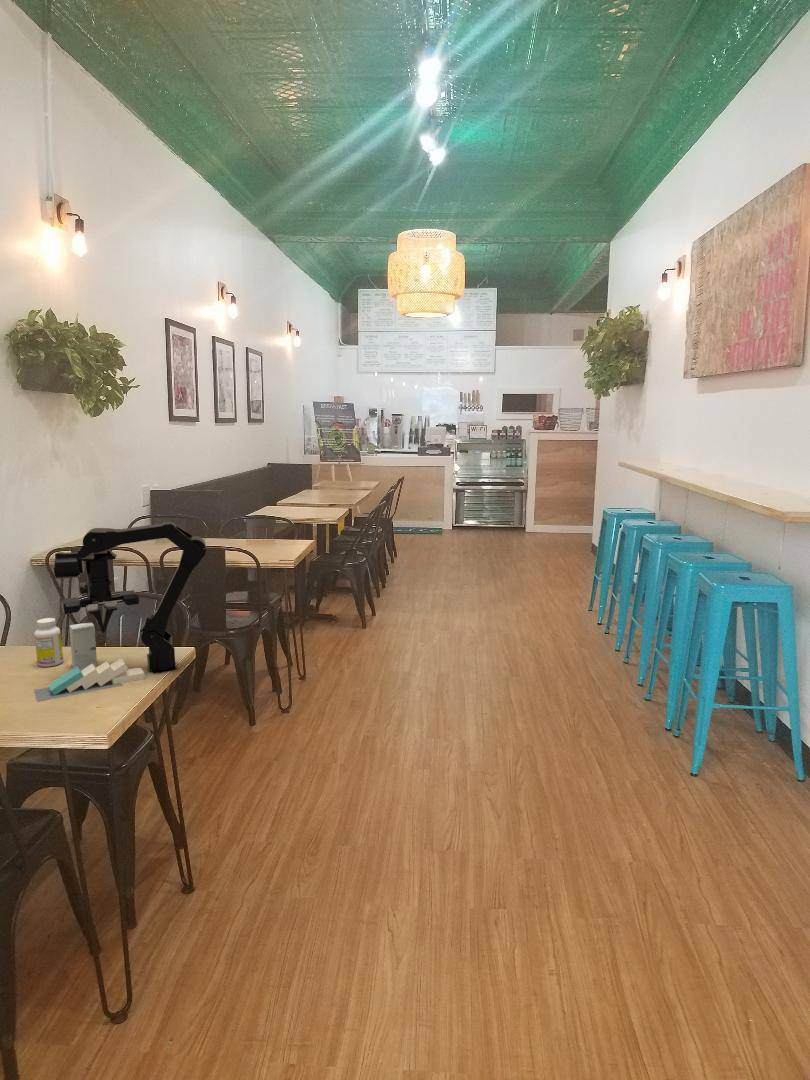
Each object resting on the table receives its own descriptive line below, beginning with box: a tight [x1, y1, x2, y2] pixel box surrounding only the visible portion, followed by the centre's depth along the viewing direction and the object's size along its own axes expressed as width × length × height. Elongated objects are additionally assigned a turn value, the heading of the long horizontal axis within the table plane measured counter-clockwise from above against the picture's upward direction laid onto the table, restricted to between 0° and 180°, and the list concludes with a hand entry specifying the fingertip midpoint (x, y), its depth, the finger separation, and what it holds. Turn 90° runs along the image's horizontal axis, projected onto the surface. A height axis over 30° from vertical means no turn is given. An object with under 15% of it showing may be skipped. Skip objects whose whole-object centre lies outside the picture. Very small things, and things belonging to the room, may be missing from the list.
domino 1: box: [67, 664, 99, 692], centre depth 186 cm, size 2×5×8 cm
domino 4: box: [111, 667, 146, 684], centre depth 192 cm, size 2×5×8 cm
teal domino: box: [48, 666, 84, 696], centre depth 184 cm, size 2×5×8 cm
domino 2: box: [82, 660, 113, 690], centre depth 188 cm, size 2×5×8 cm
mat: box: [33, 680, 123, 703], centre depth 186 cm, size 20×9×1 cm, turn 122°
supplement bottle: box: [33, 617, 64, 668], centre depth 204 cm, size 7×7×13 cm
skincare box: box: [69, 621, 98, 670], centre depth 201 cm, size 6×4×12 cm
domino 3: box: [97, 657, 129, 687], centre depth 190 cm, size 2×5×8 cm
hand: (103, 632), depth 194 cm, fingers closed
